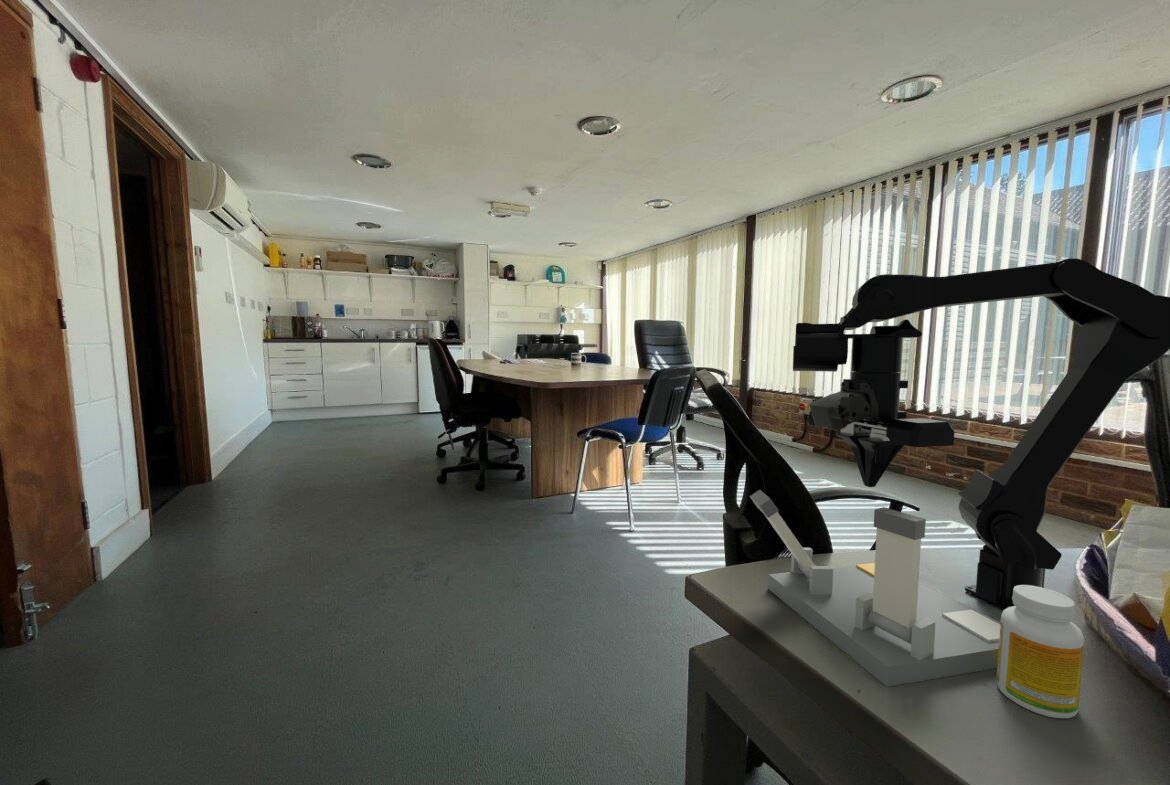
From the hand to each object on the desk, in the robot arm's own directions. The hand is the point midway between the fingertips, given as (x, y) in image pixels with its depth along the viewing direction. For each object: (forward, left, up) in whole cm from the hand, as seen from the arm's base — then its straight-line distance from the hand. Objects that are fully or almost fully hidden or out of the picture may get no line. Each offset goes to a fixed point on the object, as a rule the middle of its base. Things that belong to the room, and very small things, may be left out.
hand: (869, 486), depth 65 cm
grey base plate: (+6, +9, -13) cm, 17 cm away
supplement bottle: (+3, +23, -13) cm, 27 cm away
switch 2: (+11, +15, -10) cm, 21 cm away
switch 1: (+11, +3, -10) cm, 15 cm away
